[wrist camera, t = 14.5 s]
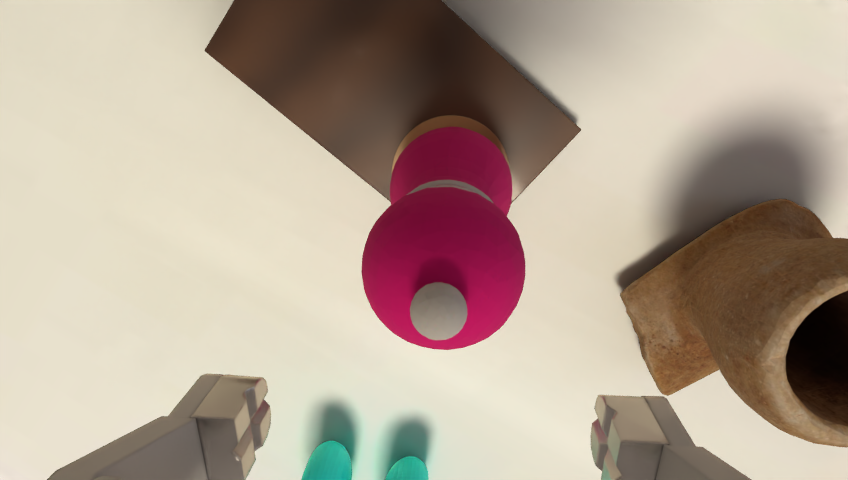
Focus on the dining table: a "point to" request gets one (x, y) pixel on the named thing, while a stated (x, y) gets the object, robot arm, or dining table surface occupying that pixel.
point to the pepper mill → (445, 243)
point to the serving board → (387, 81)
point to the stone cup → (755, 317)
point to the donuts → (333, 465)
